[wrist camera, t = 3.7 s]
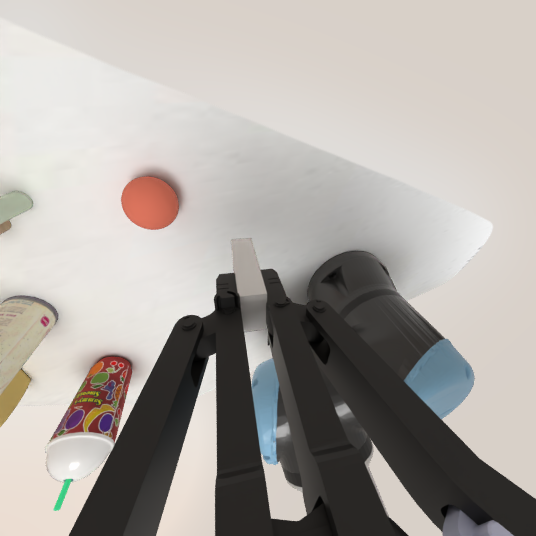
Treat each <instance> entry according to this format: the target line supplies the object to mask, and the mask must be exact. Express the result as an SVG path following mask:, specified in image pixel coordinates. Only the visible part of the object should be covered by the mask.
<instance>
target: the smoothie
mask: <svg viewBox="0 0 536 536" xmlns="http://www.w3.org/2000/svg"><path fill="white" fill-rule="evenodd" d="M131 375H132V369H131V365H130V363H129V362H128V361H127V360H126V359H124V358H121V357H114V356H113V357H106V358H103V359H101V360H100V361H99V362H98V363H97V364H95V365H93V367H92V368H91V370H90V371H89V373H88V375H87V377H86V378H85V380H84V382H83V384H82V385H81V387H80V389H79V391H78V392H77V394H76V396H75V397H74V399H73V401H72V403H71V404H70V406H69V408H68V410H67V411H66V413H65V415H64V417H63V418H62V420H61V422H60V424H59V425H58V427H57V429H56V431H55V432H54V434H53V436H52V438H51V440H50V442H49V443H48V444H47V446H46V448H45V453H46V454H47V456H46V467H47V471H48V472H49V474H50V476H51V477H52V478H53V479H55V480H57V481H60V482H64V485H63V488H62V490H61V493H60V495H59V498H58V500H57V503H56V505H55V508H54V510H55V511H56V510H59V509H60V508H61V505H62V502H63V500H64V498H65V495H66V493H67V490H68V488H69V485H70V482H74V481H77V480H80V479H82V478H84V477H86V476H88V475H89V474H91V473H92V472H93V471H95V470H96V469H97V468H98V467H99V466H100V465H101V464H102V463H103V461H104V460H105V459H106V457H107V456H108V454H109V453H111V451H112V449H113V447H114V445H115V443H114V442H115V439H116V435H117V431H118V427H119V423H120V419H121V415H122V411H123V407H124V403H125V399H126V395H127V391H128V387H129V383H130V379H131Z"/></svg>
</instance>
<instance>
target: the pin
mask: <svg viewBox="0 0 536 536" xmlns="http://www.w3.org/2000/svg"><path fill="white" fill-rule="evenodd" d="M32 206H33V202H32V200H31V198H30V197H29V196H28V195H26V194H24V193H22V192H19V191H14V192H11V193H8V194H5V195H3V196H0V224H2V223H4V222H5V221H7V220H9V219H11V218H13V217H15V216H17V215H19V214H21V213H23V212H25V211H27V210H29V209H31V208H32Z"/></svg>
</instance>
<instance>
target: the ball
mask: <svg viewBox="0 0 536 536" xmlns="http://www.w3.org/2000/svg"><path fill="white" fill-rule="evenodd" d="M121 202H122V207H123V210H124V212H125V214H126V215H127V217H128V218H129V219H130V220H131V221H132V222H133V223H135V224H136V225H138V226H140V227H142V228H145V229H151V230H156V229H161V228H164V227H166V226H168V225H170V224H171V223H172V222H173V221H174V219H175V218H176V216H177V214H178V209H179V203H178V199H177V196H176V194H175V192H174V191H173V189H172V188H171V187H170V186H169V185H168V184H167V183H165V182H164V181H162V180H160V179H158V178H155V177H147V176H146V177H139V178H136V179H134V180H132V181H131V182H129V183H128V184H127V185H126V187H125V188H124V190H123V193H122V197H121Z"/></svg>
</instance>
